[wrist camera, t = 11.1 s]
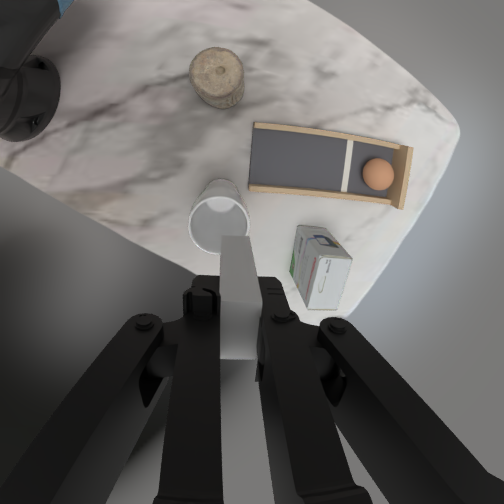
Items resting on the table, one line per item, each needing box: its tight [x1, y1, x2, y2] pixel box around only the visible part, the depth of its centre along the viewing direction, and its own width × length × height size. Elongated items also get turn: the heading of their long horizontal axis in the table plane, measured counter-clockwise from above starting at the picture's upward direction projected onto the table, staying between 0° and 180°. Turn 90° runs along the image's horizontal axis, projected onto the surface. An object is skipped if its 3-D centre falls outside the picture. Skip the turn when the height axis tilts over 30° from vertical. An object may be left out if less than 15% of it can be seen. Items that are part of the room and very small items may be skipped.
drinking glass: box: [188, 179, 250, 255], centre depth 39 cm, size 7×7×15 cm
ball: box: [363, 158, 394, 190], centre depth 43 cm, size 5×5×5 cm
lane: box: [248, 122, 413, 210], centre depth 43 cm, size 24×10×5 cm, turn 85°
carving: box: [189, 47, 244, 109], centre depth 34 cm, size 6×8×12 cm
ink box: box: [289, 226, 352, 311], centre depth 45 cm, size 9×5×12 cm, turn 173°
